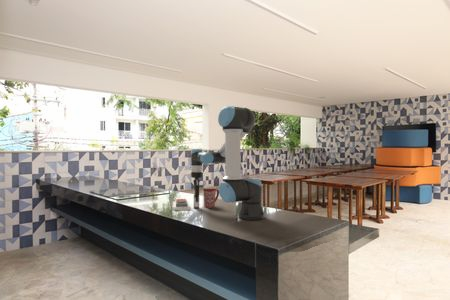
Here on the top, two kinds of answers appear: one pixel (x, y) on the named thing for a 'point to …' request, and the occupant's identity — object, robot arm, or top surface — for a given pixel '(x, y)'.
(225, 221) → the top surface
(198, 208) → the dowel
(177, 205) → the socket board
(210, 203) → the mug
